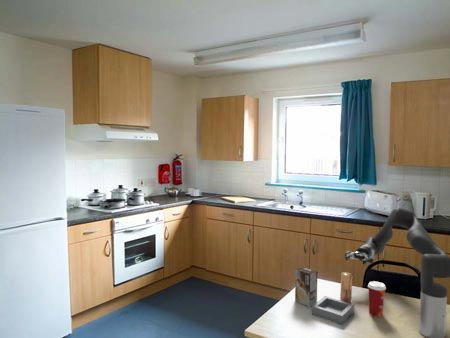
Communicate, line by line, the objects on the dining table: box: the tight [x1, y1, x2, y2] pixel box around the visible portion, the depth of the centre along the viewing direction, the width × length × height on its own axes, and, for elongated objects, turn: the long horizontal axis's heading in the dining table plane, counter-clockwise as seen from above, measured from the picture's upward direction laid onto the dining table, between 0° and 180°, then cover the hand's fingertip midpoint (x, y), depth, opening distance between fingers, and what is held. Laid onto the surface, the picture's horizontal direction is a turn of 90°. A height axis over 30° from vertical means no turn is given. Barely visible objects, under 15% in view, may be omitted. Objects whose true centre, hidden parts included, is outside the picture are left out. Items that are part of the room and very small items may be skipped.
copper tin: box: [339, 271, 353, 304], centre depth 175 cm, size 5×5×14 cm
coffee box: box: [294, 266, 318, 308], centre depth 174 cm, size 9×6×16 cm
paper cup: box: [367, 280, 387, 317], centre depth 163 cm, size 8×8×14 cm
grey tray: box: [311, 295, 355, 325], centre depth 163 cm, size 14×14×4 cm
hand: (354, 260), depth 183 cm, fingers open, 8 cm apart
